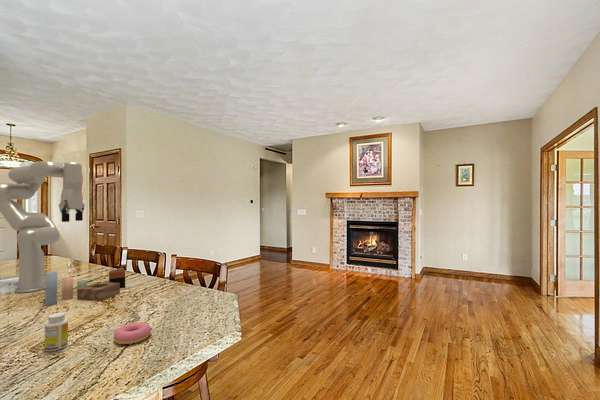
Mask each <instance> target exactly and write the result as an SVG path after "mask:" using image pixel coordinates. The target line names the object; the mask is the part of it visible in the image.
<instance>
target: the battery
mask: <svg viewBox="0 0 600 400" xmlns="http://www.w3.org/2000/svg"><path fill="white" fill-rule="evenodd" d="M108 282H110V283H120V289H123V288H125V287H126V270H125V269H124V268H123V267H119V268H118V269H111V270H109V271H108Z"/></svg>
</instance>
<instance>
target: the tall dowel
mask: <svg viewBox="0 0 600 400" xmlns="http://www.w3.org/2000/svg"><path fill="white" fill-rule="evenodd" d="M44 284H45V289H44V306H45V307H48V306H49V307H51V306H54V305H57V303H58V271H48V272H45V273H44Z"/></svg>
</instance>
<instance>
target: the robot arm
mask: <svg viewBox="0 0 600 400" xmlns="http://www.w3.org/2000/svg"><path fill="white" fill-rule="evenodd" d="M7 177H8V178H9V180H11V181H12V182H14V183H10V182H8V183H7V182H2V183H0V214H1V215H2V216H3V218H4V219H5V221H6V222H7V223H8V225H9V226H10V227H11V228H12V229H13V230H15V231H17V232H18V233H17V235H16V241H17V245H18V252H19V253H18V254H19V255H18V265H19V266H18V280H17V281H16V282H14V283H13V285H14V286H16V288H14V293H19V294H20V293H24V294H25V293H31V292H37V291H41V290H45V252H44V251H43V249H42V248H41V246H46V245H53V244H56V243H57V242H58V241H60V240H59V239H60V236H61V235H60V231H59V230H58V228H57V226H56V225H55V224H54V223H53V222H52V220H51V219H50V218H49V216H47V214H45V213H43V212H28V211H27V210H25V208H24V207H23V206H22V205H21V204H20V203H19V202H17V201H15V200H29V199H31V198H33V197H34V196H35V194H36V193H37V192H38V190H39V189H40V188H41V186H42V185H43V184H44V182H45V179H46V178H47V177H48V178H61V179H62V190H61V194H60V203H59V204H58V207H59V211H60V214H61V222H62V223H69V222H70V213H69V212H70V211H71V210H74V211H75V212H74V213H75V215H74V216H75V221H76V222H77V221H78V222H80V221H83V220H84V219H83V215H84V211H85V206H86V204H85V203H84V201H83V199H84V198H83V165H82V164H81V163H80V162H74V161H67V162H57V161H50V160H42V161H41V160H40V161H35V162H32V163H31V164H30V165H23V166H18V167H13V168H12V169H10V170H9V171H8V176H7Z"/></svg>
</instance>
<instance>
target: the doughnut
mask: <svg viewBox="0 0 600 400" xmlns="http://www.w3.org/2000/svg"><path fill="white" fill-rule="evenodd" d="M151 332H152V327H151V326H150V323H147V322H143V321H141V322H137V321H136V322H130V323H127V324H124V325H122V326H120V327H118V328H117V329H116V330H115V332H114V334H113V339H114V342H115V343H116V344H118V345H122V344H123V346H125V345H124V344H129V345H134V344H133V343H135V344H137V343H136V342H138V343H140V341H141V342H143V341H144V339H145V340H146V339H147V338H148V337H149V336H150V335H151ZM142 340H143V341H142Z"/></svg>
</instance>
